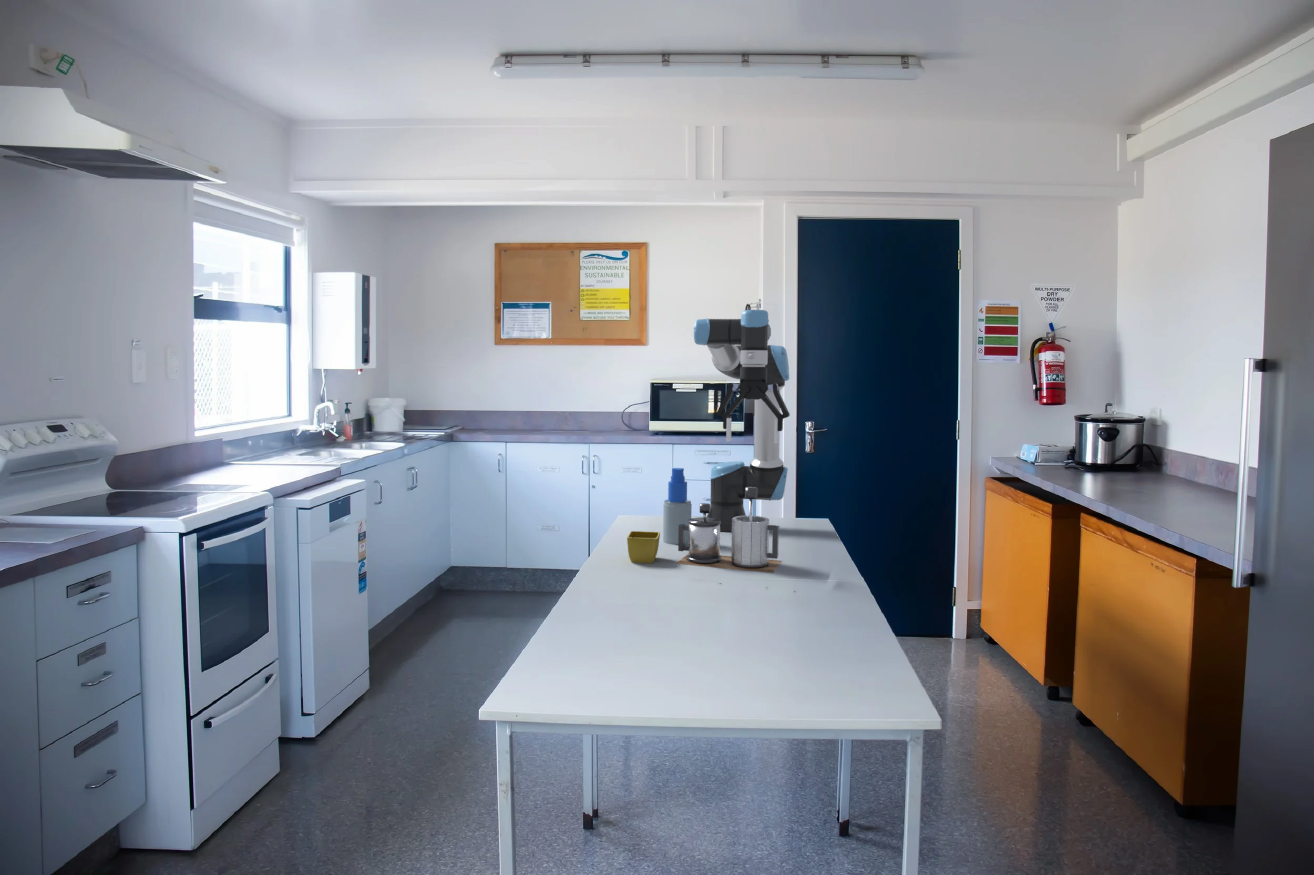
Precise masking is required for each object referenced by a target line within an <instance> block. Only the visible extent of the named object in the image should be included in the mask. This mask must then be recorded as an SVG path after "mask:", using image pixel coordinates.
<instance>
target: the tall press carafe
mask: <svg viewBox="0 0 1314 875" xmlns="http://www.w3.org/2000/svg"><path fill="white" fill-rule="evenodd" d="M779 530H780V525H775V524H773V525H772V524H770V519H769V518H767V517H765V516H760V515H752V522H749V515H746V516H737V517H734V518H732V532H731V551H730V552H731V555H730V556H731V560H732V565H733V566H735V567H739V568H746V569H759V568H764V567H767V566H768V561H769V560H770V559H774V560H777V559H778V558H779V536H780V534H779V533H780V531H779ZM770 531H772V538H771V539H772V543H771V544H772V545H771V547H772V548H771V552H770Z"/></svg>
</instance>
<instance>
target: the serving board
mask: <svg viewBox="0 0 1314 875" xmlns="http://www.w3.org/2000/svg"><path fill="white" fill-rule="evenodd" d="M687 555H689V552H688V553H687V554H686V555H684V556H683V557H682V558H680V560H678V561H677V562H675V564H676V565H683V566H694V567H705V568H716V569H717V568H718V569H727V570H737V571H749V572H759V573H770V574H774V572H775V571H776V570H777V568H778V567H779V566H780V564H781V563H782V562H783V560H777V559H769V561H768V566H767V567H764V568H759V569H746V568H739V567H735V566H733V565H732V560H731V555H723V554H722V555H721V554H720V556H721V562H719V563H715V564H695V563H691V562H689V561H687Z"/></svg>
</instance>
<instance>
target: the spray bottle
mask: <svg viewBox="0 0 1314 875" xmlns="http://www.w3.org/2000/svg"><path fill="white" fill-rule="evenodd" d="M685 480H686V478H685V473H684V467H673V468H671V476H670V481H668V484H667V485H668V487H667V491H668V492H667V499H665V500H663V507H662V508H663V516H662V517H663V523H662V524H663V525H662V527H663V528H662V529H663V530H662V532H663V533H662V534H663V535H662V536H663V537H662V538H663V539H662V541H663V543H664V544H668V545H677V546H678V529H679V525H680V524H685V525H686V526H689V523H688V520H689V519H691V518H692V501H691V500H689V499H688V481H685ZM685 545H689V531H687V530H685Z"/></svg>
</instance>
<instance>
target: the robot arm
mask: <svg viewBox="0 0 1314 875" xmlns="http://www.w3.org/2000/svg"><path fill="white" fill-rule="evenodd" d="M740 315H741V317H740V318H707V317H706V318H702V319H701V318H700V319H699V318H698V319H696V321H694V325H693V340H694V343H695V344H696V345H697V346H706V347H707V348H708V351H709V352H710V354H711V362H712V363H713V364H712V365H713V366H714V367H715V368H716V370H718V371H719V372H720V373H721V374H723V375H725V376H727V377H730V378H731V379H735V380H739V384H738V383H734V382H730V383H728V386H727V392H726V393H725V395H724V397H723V400H722V401H721V403H720V406H719V407H718V409H717V411H716V415H717V416H719V417H721V418H722V428H723V430H726V433H725V434H726V435H725V436H726V437H725V438H726V439H725V441H726V442H731V441H732V417H730V415H731V414H733V412H734V411H736V410H735V409H737V407H738V406H739V405H740V404H741V403H742V402H743V401H744V400H754V433H753V434H754V435H753V436H754V441H753V442H754V445H753V447H754V454H753V456H754V457H753V458H752V459H751V460H750V461H749V465H746V464H745V462H744V461H743V460H741V461H740V460H739V461H738V460H737V461H725V462H720V463H716V464H714V465H713V466H712V467H711V470H710V477H709V478H710V503H709V504H710V513H706V517H708V518H716V519H719V520H721V524H720V532H731V533H732V518H734V517H737V516H747V514H746V511H745V508H744V500H747V499H746V498H745V487H757V499H754V500H759V501H760V500H761V501H762V500H763V501H769V502H771V501H780V500H782V499H783V498H784V496H785V490H786V484H787V477H788V471H789V470H788V469H789V468H788V467H786V466H784V464H785V463H784V461H783V460H782V459H781V458H780V435H781V432H782V431H783V427H784V426H783V425H784V419H786V418H789V417H790V416H791V415H790V412H789V410H788V408H787V406H786V403H785V401H784V399H783V397H782V395H781V390H782V389H783V388H784V387H785V386H786V382H787V381H789V380H790V366H789V359H788V354H787V349H786V348H785V346H784V345H774V344H768V342H769V340H770V337H771V335H772V332H771V331H772V329H771V325H770V324H769V321H770V320H769V312H768V311H767V310H765V309H745V310H743V311H741V314H740ZM737 389H738V390H739V391H740V394H739V395H738V396H737V398H736V399H735V400H734V401H733V403H732V404H731V405H730V406H729V407H728V408H727V406H728V404H729V403H730V400H731V399H732V397H733V394H734V392H735V391H737ZM726 408H727V409H726ZM725 410H726V411H725ZM781 412H782V413H781Z"/></svg>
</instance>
